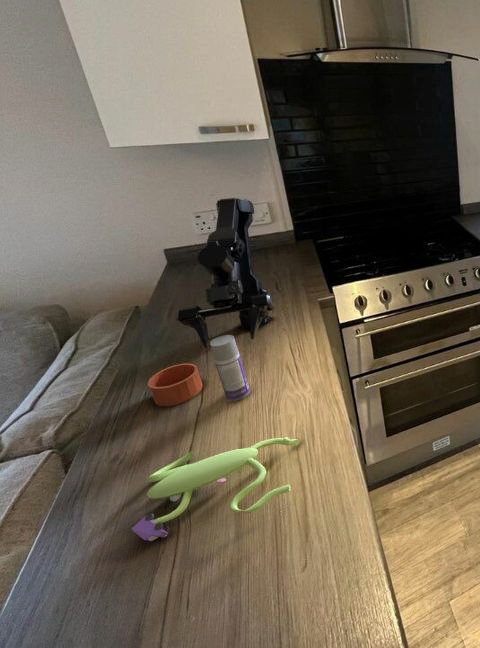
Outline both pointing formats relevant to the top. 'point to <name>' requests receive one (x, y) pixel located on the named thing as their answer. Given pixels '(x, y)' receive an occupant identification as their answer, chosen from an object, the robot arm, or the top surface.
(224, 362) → the container
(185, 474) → the figurine
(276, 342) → the top surface
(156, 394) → the orange-brown bowl
